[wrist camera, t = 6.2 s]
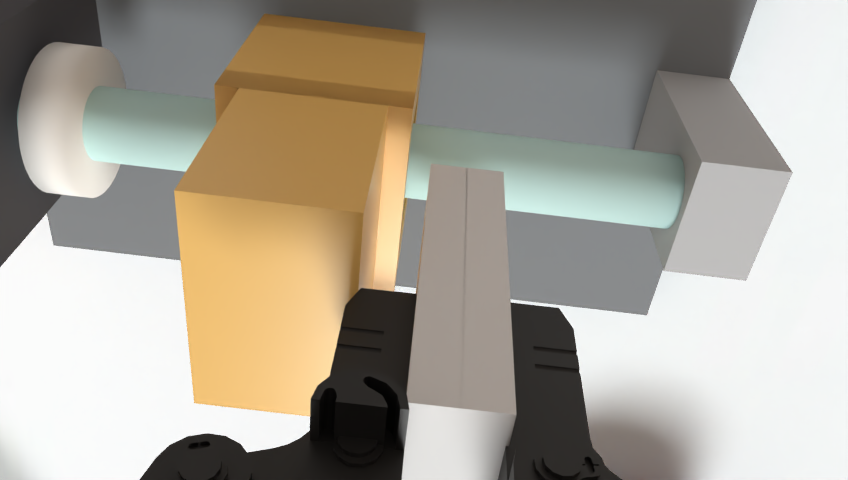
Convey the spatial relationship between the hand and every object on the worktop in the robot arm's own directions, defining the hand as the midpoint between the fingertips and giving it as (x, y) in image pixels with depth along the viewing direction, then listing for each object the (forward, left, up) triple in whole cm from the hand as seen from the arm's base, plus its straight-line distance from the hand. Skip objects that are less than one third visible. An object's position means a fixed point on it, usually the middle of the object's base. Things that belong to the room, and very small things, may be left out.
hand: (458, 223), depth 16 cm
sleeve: (0, -3, -5) cm, 6 cm away
